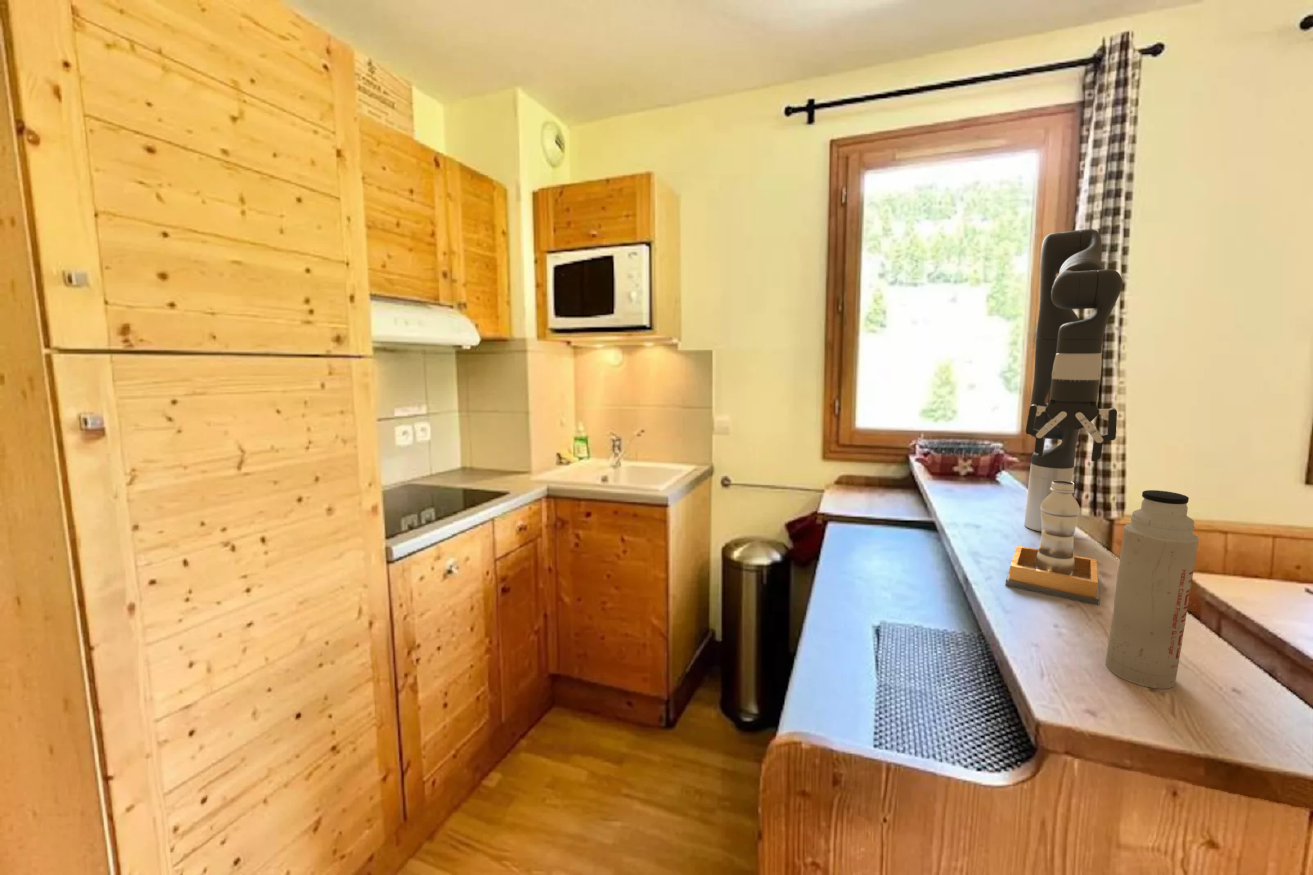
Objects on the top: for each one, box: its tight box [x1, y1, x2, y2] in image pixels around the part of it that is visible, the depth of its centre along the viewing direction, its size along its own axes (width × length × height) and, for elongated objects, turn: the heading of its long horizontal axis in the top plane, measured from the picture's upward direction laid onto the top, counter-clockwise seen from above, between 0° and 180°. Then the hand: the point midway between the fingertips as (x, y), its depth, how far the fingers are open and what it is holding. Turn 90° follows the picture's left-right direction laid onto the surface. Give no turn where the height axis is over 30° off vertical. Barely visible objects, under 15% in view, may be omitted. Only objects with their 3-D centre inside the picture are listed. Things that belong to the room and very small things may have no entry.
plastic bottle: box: [1035, 480, 1081, 576], centre depth 113 cm, size 6×7×20 cm
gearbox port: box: [1005, 545, 1100, 606], centre depth 114 cm, size 15×15×4 cm
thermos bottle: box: [1105, 489, 1200, 690], centre depth 81 cm, size 8×8×28 cm
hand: (1066, 458), depth 110 cm, fingers open, 8 cm apart
